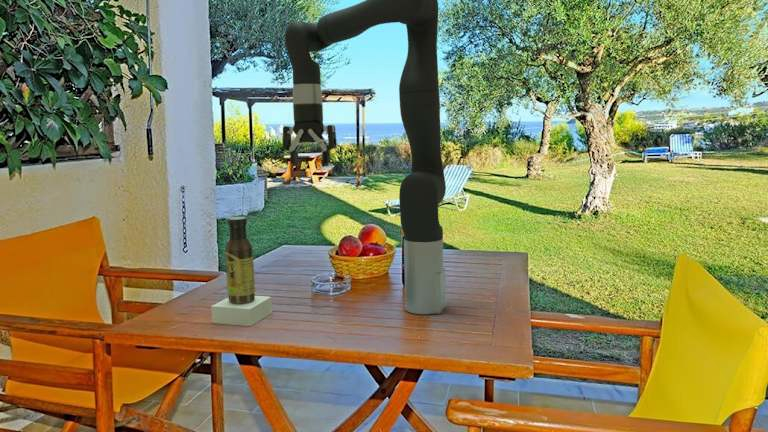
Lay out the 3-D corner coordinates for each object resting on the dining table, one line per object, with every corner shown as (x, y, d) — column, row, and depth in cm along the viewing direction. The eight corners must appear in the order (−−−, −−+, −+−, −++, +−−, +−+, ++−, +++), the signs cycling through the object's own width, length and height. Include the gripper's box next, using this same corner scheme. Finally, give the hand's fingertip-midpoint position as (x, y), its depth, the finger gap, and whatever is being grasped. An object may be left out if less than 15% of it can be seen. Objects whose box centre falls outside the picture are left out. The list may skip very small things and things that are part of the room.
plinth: (272, 312, 141) (271, 296, 141) (250, 326, 132) (249, 309, 131) (235, 310, 144) (234, 294, 144) (212, 322, 135) (211, 306, 134)
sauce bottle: (226, 299, 139) (220, 216, 136) (252, 295, 142) (247, 214, 139) (230, 306, 133) (225, 220, 130) (258, 302, 136) (253, 217, 133)
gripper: (276, 103, 149) (279, 167, 152) (327, 101, 145) (330, 166, 147) (289, 104, 156) (292, 165, 159) (338, 102, 152) (341, 164, 155)
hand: (310, 165), depth 153 cm, fingers open, 8 cm apart
